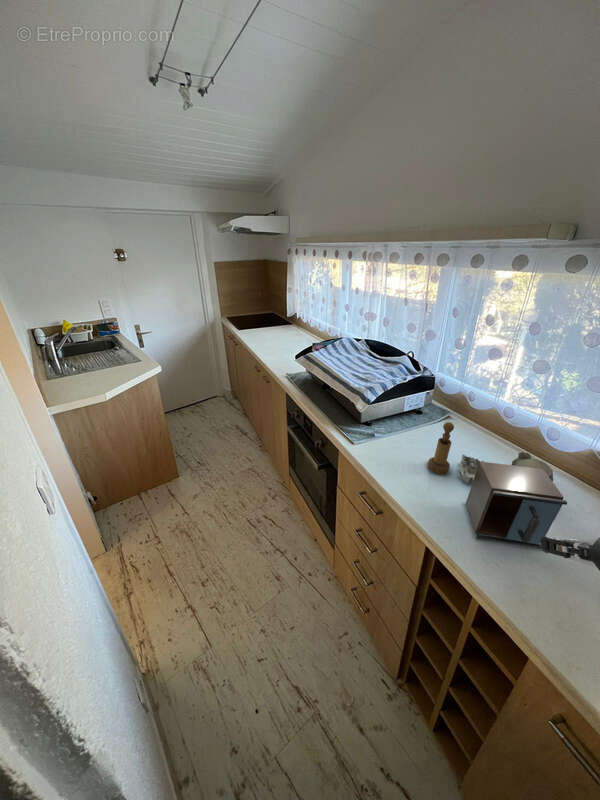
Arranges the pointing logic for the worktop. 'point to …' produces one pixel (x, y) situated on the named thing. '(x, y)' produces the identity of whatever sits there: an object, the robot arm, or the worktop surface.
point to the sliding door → (532, 521)
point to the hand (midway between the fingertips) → (568, 547)
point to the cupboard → (506, 498)
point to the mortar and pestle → (442, 452)
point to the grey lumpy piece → (468, 468)
